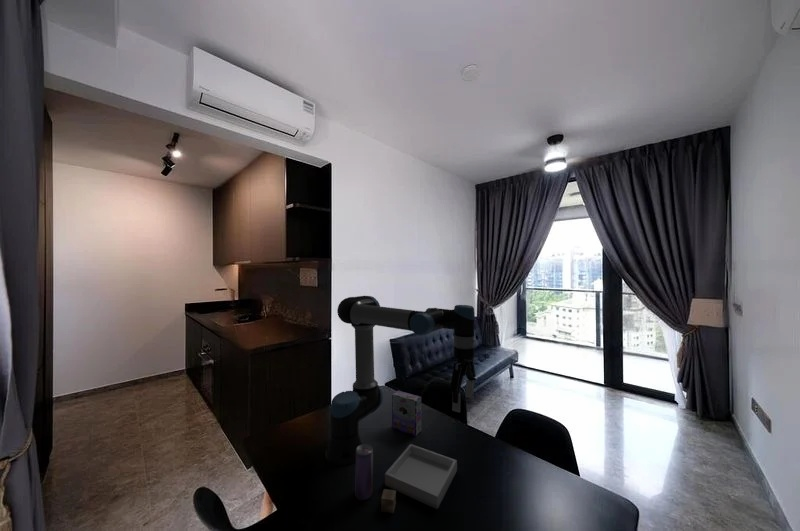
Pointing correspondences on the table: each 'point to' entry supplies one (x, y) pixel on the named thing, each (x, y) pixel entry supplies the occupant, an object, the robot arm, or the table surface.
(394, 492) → the oak block
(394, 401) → the candy box
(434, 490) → the bin
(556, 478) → the table surface
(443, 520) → the table surface
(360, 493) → the beverage can
